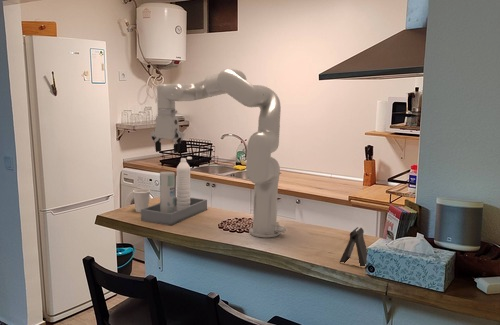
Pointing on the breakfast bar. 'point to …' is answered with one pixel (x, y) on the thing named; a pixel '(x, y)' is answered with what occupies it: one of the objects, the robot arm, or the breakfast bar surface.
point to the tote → (170, 219)
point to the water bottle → (183, 184)
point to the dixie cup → (141, 198)
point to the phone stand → (360, 244)
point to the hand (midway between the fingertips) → (167, 152)
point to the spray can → (167, 191)
